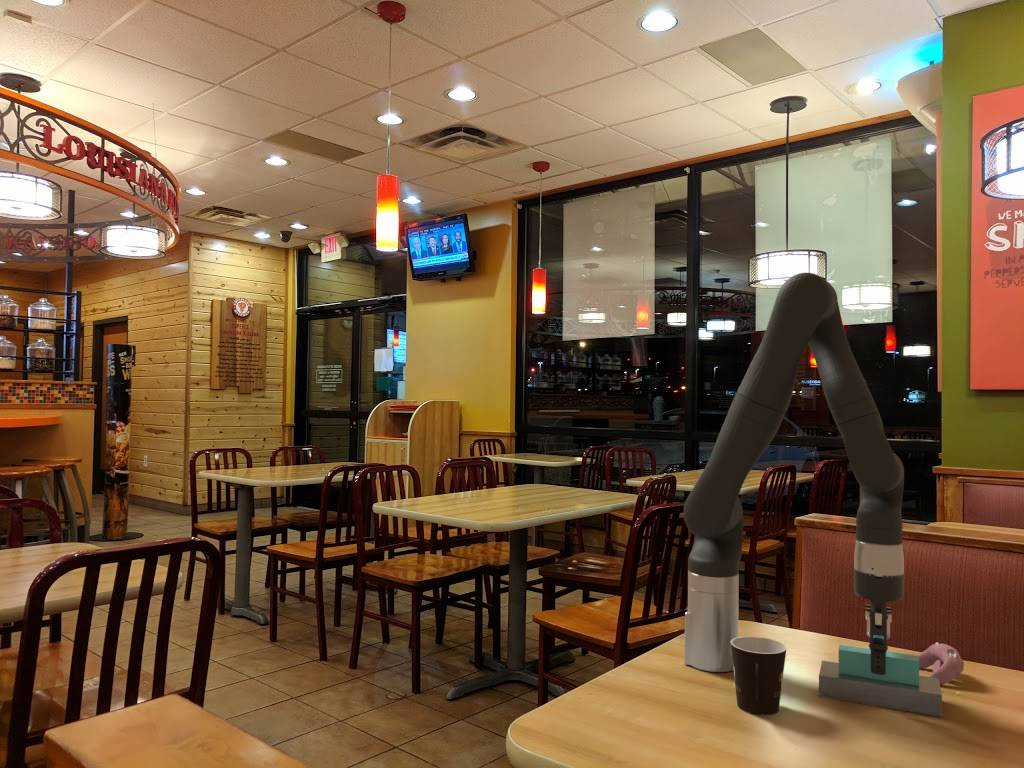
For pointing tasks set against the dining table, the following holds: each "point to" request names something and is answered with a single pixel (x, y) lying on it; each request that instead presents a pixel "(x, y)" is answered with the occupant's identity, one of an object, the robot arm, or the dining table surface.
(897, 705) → the slotted rail
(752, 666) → the coffee mug
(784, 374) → the robot arm
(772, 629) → the dining table surface
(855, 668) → the two prong clip
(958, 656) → the video game controller
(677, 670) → the dining table surface
